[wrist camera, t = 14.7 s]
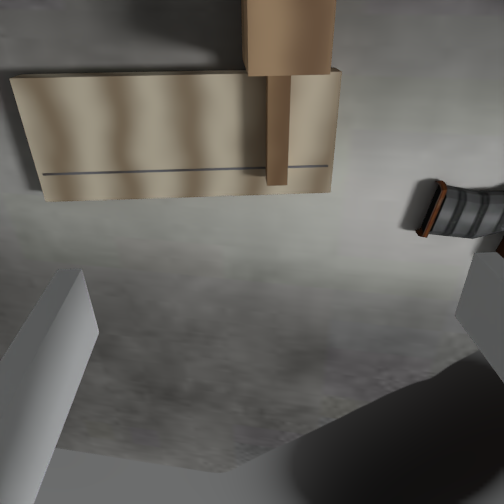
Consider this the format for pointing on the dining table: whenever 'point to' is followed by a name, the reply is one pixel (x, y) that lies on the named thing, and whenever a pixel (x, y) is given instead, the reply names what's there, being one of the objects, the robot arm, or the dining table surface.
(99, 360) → the dining table surface
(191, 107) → the board
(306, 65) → the brown block with tab
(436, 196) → the tool
